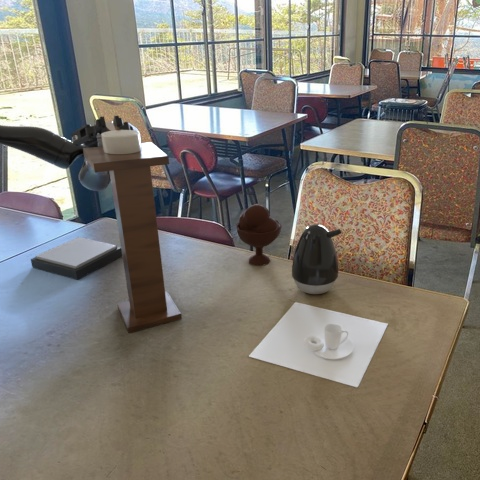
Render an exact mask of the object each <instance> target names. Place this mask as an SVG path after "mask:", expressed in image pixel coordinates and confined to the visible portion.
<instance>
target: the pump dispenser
mask: <svg viewBox="0 0 480 480" xmlns="http://www.w3.org/2000/svg"><path fill="white" fill-rule="evenodd" d="M341 234H342V230H341V228H338V229H334V230H330V231H329V230H328V229H327V228H326V227H325V225H324V226H323V225H322V224H318V223H314V224H310V225H308V226H307V227H305V229H304V230H303V232H302V233H301V235H300V237H299V239H298V241H297V245H296V247H295V250H294V254H293V258H292V264H291V276H292V278H293V280H294V283H295V285H296V287H297V289H299V290H300V291H302V292H304V293H306V294H309V295H321V294H325V293H327V292H329V291H330V290H331V289H332V288H333V286H334V285H335V283H336V281H337V279H338V278H339V261H338V254H337V250H336V247H335V244H334V241H333V239H332V238H334V237H337V236H340V235H341Z"/></svg>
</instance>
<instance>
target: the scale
mask: <svg viewBox="0 0 480 480" xmlns="http://www.w3.org/2000/svg"><path fill="white" fill-rule="evenodd" d="M121 257H122V250H121V246H118V245H116V244H111V243H107V242H103V241H98V240H95V239H89V238H85V237H81V236H78V237H74V238H73V239H71V240H68V241H66V242H63V243H62V244H58V245H56V246H55V247H52V248H50V249H48V250H46V251H45V250H44V252H41V253H39V254H36V255H35V257H33V258H31V259H30V263H31V267H32V268H33V269H36V270H40V271H44V272H47V273H52V274H55V275H57V276H61V277H65V278H70V279H73V280H80V279H82V278H84V277H86V276H87V275H89V274H92V273H93V272H95V271H96V270H98V269H101V268H102V267H105V266H106V265H108V264H110V263H112V262H114V261H115V260H117V259H120V258H121Z"/></svg>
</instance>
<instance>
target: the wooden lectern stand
mask: <svg viewBox="0 0 480 480" xmlns="http://www.w3.org/2000/svg"><path fill="white" fill-rule="evenodd" d="M141 146H142V150H141V151H139V152H136V153H131V154H108V153H105V152H104V151H103V146H102V147H91V148H83V152H84V157H85V158H86V160H87V161H88V163H89V164H90V166H91V167H92V169H93V170H94V172H104V171H109V172H110V179H111V181H110V184H111V191H112V198H113V205H114V210H115V211H114V212H115V217H116V224H117V231H118V237H119V243H120V247H121V250H122V256H121V257H122V263H123V269H124V276H125V283H126V288H127V296H128V300H125V301H121V302H117V303H116V306H117V309H118V313H119V315H120V317H121V319H122V321H123V325H124V326H125V329H126V331H127V334H131V333H135V332H139V331H142V330H146V329H149V328H152V327H156V326H160V325H164V324H169V323H172V322H175V321H178V320H182V319H183V318H182V317H183V316H182V313H181V311H180V309H179V308H178V307H177V305H176V303H175V302H174V300H173V299H172V297H171V295H170V294H169V292H168V291H167V290H166V289H165V287H166V286H165V279H164V272H163V262H162V253H161V244H160V238H159V228H158V221H157V211H156V203H155V194H154V185H153V177H152V169H151V167H156V166H166V165H170V158H169V155H168V154H167V153H166V152H164V151H163V150H161V149H160V148H159V147H158V146H157V145H155V144H154V143H153V142H151V141H147V142H141ZM85 158H84V159H85Z"/></svg>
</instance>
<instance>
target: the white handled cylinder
mask: <svg viewBox="0 0 480 480" xmlns="http://www.w3.org/2000/svg"><path fill="white" fill-rule="evenodd" d="M105 123H106V130H105V131H106V132H104V133H102V134H101V138H102V145H103V151H104V152H105V153H108V154H131V153H136V152H139V151H141V150H142V146H141V143H142V139H141V132H140V131H139V130H138V131H134V130H121V129H120V128H119V127H118V126H116V125H115V124H114V123H113V121H111V120H109V121H108V120H107V121H105Z"/></svg>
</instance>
